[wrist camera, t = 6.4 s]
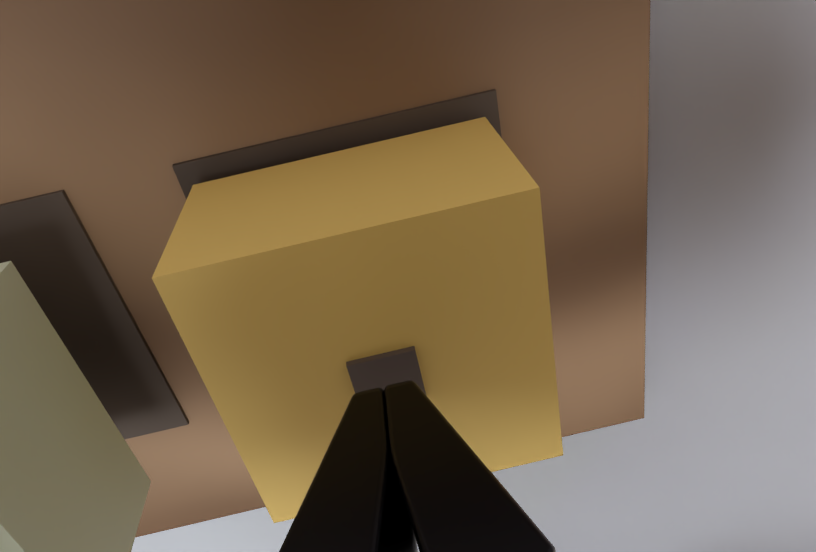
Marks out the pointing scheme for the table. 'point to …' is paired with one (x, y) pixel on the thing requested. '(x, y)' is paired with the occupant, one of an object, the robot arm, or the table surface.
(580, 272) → the button board
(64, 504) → the sage tile
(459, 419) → the mustard tile
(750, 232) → the table surface
